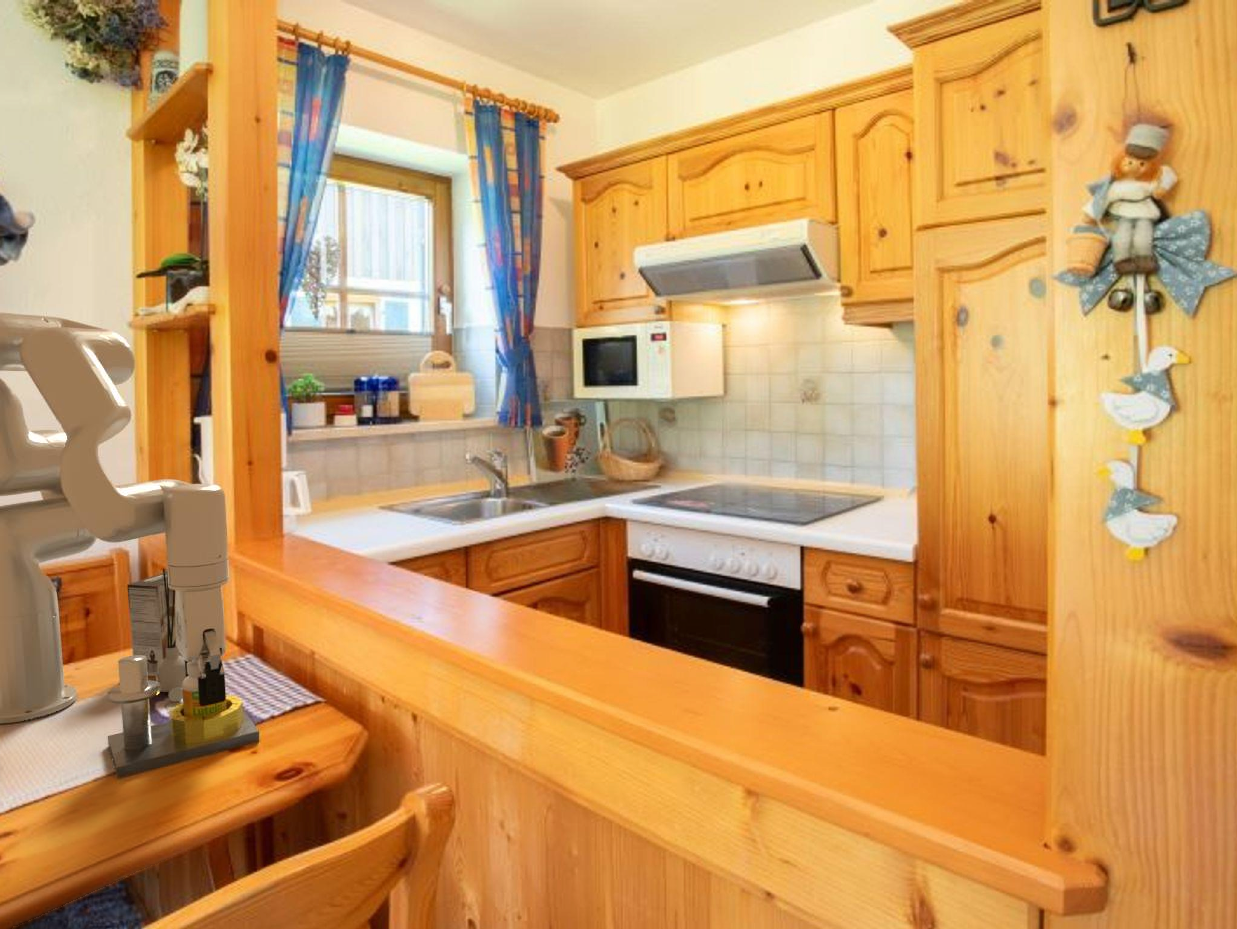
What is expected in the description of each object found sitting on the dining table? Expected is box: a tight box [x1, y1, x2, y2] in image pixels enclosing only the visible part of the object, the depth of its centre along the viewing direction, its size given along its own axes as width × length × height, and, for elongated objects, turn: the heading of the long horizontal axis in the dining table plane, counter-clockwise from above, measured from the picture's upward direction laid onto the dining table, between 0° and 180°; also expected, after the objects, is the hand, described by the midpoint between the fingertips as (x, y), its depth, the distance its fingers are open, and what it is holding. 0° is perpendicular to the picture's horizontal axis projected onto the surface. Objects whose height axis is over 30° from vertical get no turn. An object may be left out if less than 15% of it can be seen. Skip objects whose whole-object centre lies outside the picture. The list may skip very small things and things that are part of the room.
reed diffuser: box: [155, 568, 186, 702], centre depth 127 cm, size 10×7×20 cm
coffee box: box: [126, 571, 182, 677], centre depth 138 cm, size 9×6×16 cm
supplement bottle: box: [182, 659, 227, 718], centre depth 111 cm, size 5×5×10 cm
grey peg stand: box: [107, 654, 260, 779], centre depth 109 cm, size 17×11×14 cm, turn 128°
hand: (205, 691), depth 111 cm, fingers open, 9 cm apart
